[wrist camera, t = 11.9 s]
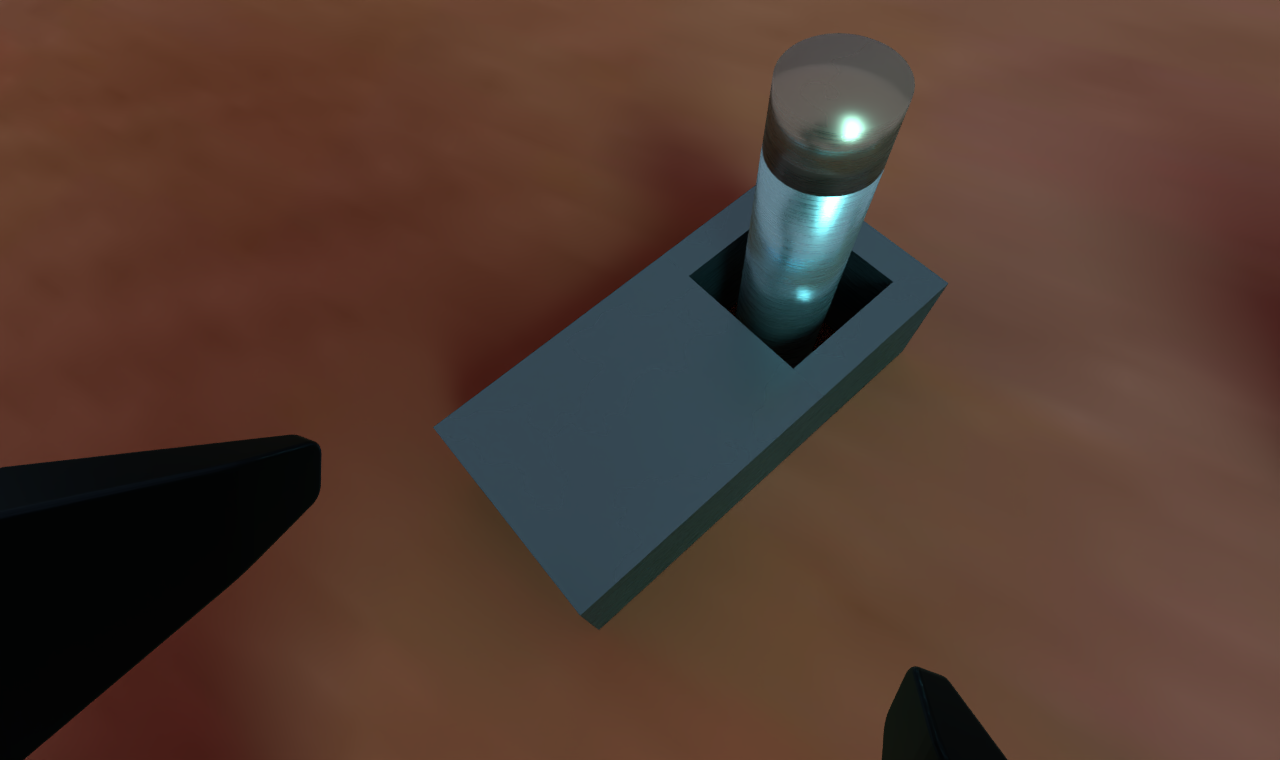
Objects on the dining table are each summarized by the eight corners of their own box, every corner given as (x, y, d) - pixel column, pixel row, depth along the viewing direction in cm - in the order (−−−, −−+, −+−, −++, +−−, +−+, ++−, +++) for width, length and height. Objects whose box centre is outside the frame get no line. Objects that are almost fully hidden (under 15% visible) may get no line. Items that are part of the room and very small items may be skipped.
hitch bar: (599, 630, 20) (580, 615, 16) (475, 473, 23) (433, 427, 19) (902, 351, 24) (948, 283, 20) (768, 242, 27) (785, 163, 23)
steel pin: (771, 396, 24) (850, 152, 13) (715, 344, 25) (743, 79, 14) (826, 348, 24) (944, 79, 14) (769, 300, 26) (836, 15, 15)
